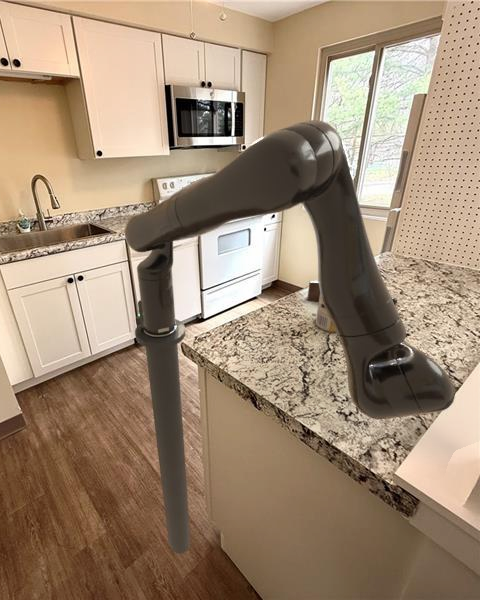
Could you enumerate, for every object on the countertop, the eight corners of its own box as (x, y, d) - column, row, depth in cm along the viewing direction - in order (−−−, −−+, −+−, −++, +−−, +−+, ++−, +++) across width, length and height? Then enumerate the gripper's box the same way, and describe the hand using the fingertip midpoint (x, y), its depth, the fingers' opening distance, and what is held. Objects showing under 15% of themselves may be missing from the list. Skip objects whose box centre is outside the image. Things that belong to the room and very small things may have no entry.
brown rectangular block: (307, 300, 95) (310, 282, 93) (307, 297, 97) (309, 280, 94) (345, 303, 91) (349, 284, 89) (344, 300, 93) (347, 281, 91)
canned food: (357, 327, 80) (366, 284, 74) (334, 335, 77) (343, 292, 72) (330, 314, 86) (337, 275, 81) (308, 322, 84) (314, 281, 79)
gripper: (421, 308, 49) (390, 270, 64) (326, 302, 54) (317, 268, 69) (409, 347, 53) (382, 303, 67) (321, 338, 58) (313, 299, 72)
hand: (349, 285), depth 68 cm, fingers closed
